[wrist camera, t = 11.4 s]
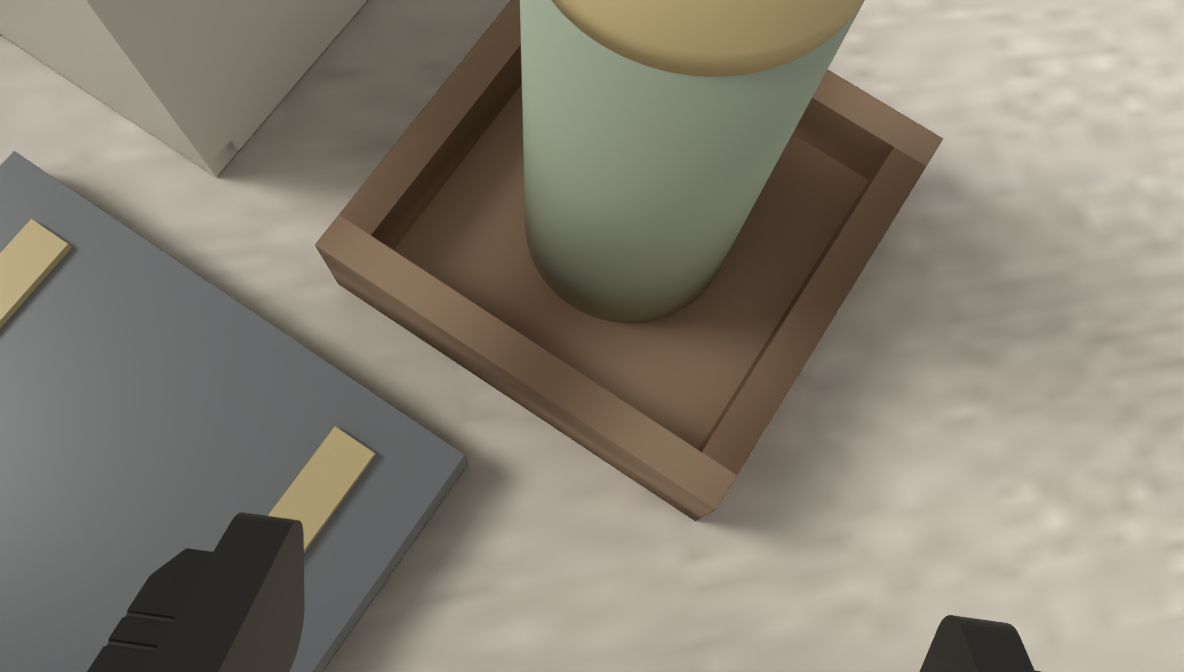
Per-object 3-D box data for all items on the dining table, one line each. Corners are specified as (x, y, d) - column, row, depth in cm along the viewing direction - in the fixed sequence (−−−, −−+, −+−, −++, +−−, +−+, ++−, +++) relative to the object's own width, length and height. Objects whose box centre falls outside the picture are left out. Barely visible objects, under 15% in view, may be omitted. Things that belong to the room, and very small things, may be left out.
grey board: (-260, 501, 20) (-324, 493, 19) (40, 174, 23) (5, 142, 21) (200, 846, 19) (171, 866, 18) (468, 463, 21) (463, 451, 20)
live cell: (484, 249, 22) (436, -105, 11) (598, 98, 23) (655, -356, 12) (657, 362, 21) (783, 108, 11) (765, 202, 23) (977, -174, 12)
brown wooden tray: (338, 284, 22) (314, 244, 20) (572, -14, 25) (576, -81, 22) (695, 520, 21) (715, 509, 19) (902, 186, 24) (943, 138, 21)
